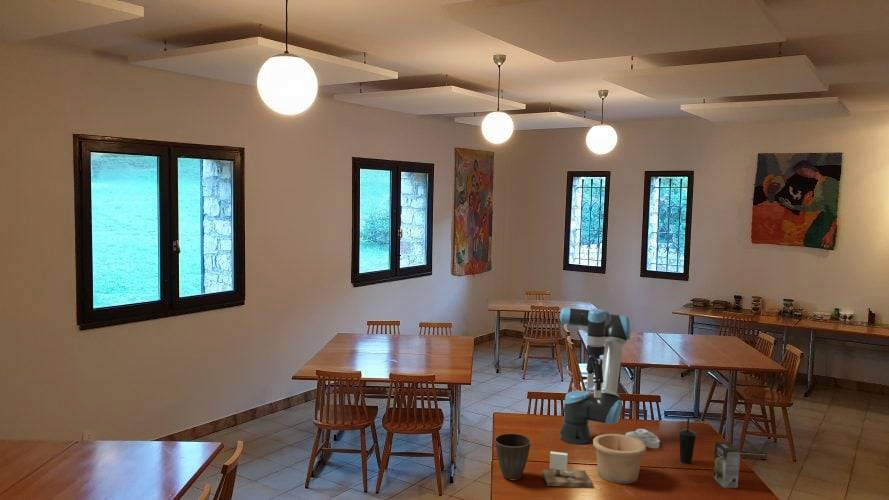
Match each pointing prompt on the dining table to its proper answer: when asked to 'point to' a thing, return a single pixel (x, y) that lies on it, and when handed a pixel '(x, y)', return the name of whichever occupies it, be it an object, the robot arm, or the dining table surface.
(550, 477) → the brown flat rectangular block
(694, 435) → the drinking cup
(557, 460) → the white slab
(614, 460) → the pottery
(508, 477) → the plant pot
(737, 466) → the coffee box
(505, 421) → the dining table surface
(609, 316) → the robot arm
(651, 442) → the knuckle duster
